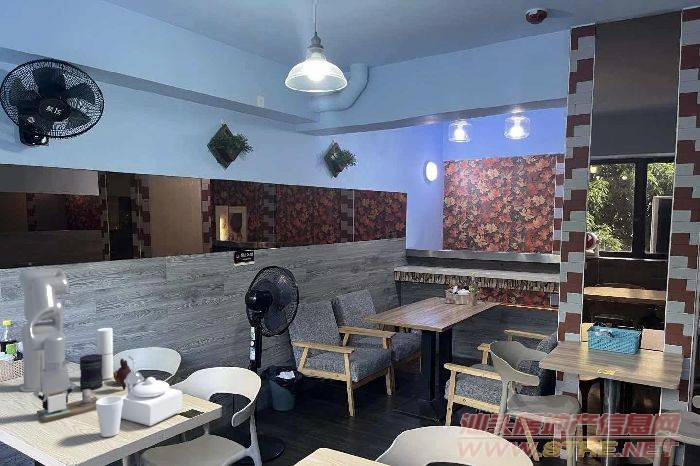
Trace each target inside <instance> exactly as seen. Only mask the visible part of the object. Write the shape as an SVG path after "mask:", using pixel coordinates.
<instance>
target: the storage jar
mask: <svg viewBox="0 0 700 466" xmlns="http://www.w3.org/2000/svg"><path fill="white" fill-rule="evenodd" d="M102 366H103V365H102V355H100V354H98V353H93V354H92V353H91V354H86V355H83V356H80V357H79V370H80V377H79V385H80V390H81V391H83V390H85V389H90V390H91V391H96V390H99V389H101V388H102V387H103V381H104V379H103V378H102V377H103V376H102Z"/></svg>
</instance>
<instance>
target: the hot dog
mask: <svg viewBox="0 0 700 466" xmlns="http://www.w3.org/2000/svg"><path fill="white" fill-rule="evenodd" d="M117 371H118V370H115V371H113V379H114V381H115V382H116V383H117V384H118V385H121V383H120V380H119V379H117V378H116V376H117ZM121 386H122V385H121Z"/></svg>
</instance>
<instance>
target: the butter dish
mask: <svg viewBox="0 0 700 466" xmlns="http://www.w3.org/2000/svg"><path fill="white" fill-rule="evenodd" d="M120 396H121V397H123V405H122V413H121V419H123V420H127V421H129V422H130V421H131V422H134V423H138V424H141V425H145V426H149V427H152V426H153V425H155V424H157V423H159V422H161V421H163V420H166V419H168V418H170V417H172V416H174V415H176V414H178V413H180V412H181V411H182V412H183V391H182V390H180V389H175V388H171V387H170V384H169V383H168V382H166V381H164V380H159V379H158V380H156V378H155V377H153V376H150V377H147V378H146V379H144V381H142V383H140V384H138V385H136V386H135V387H134V388H133V389H132V392H131V393H129V394H128V393H127V394H124V395H120Z"/></svg>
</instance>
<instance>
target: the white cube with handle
mask: <svg viewBox="0 0 700 466" xmlns="http://www.w3.org/2000/svg"><path fill="white" fill-rule="evenodd" d="M47 402H48V410H47V411H48V412H49V413H50V412H54V411H58V410H62V409H66V394H65V393H64V392H63V391H61V392H57V393H52V394H49V395H48V397H47Z"/></svg>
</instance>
